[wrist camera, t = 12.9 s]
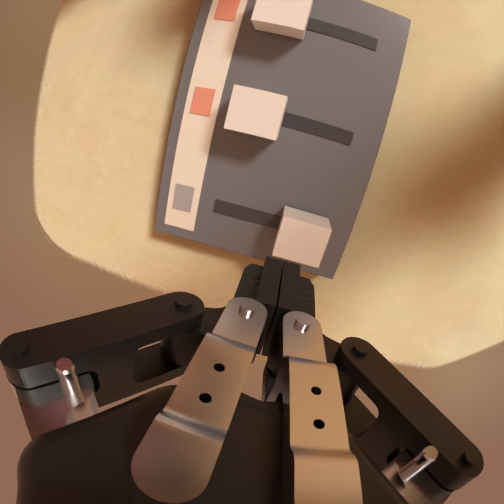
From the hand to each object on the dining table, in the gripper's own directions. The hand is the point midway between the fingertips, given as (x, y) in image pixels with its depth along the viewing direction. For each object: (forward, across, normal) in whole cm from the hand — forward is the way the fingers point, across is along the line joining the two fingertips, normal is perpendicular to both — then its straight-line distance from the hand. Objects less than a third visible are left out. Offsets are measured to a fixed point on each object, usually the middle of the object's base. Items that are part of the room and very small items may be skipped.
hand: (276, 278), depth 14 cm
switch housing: (+17, +3, -6) cm, 19 cm away
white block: (+15, +4, -15) cm, 22 cm away
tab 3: (+14, -2, +3) cm, 15 cm away
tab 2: (+15, +4, -6) cm, 16 cm away
